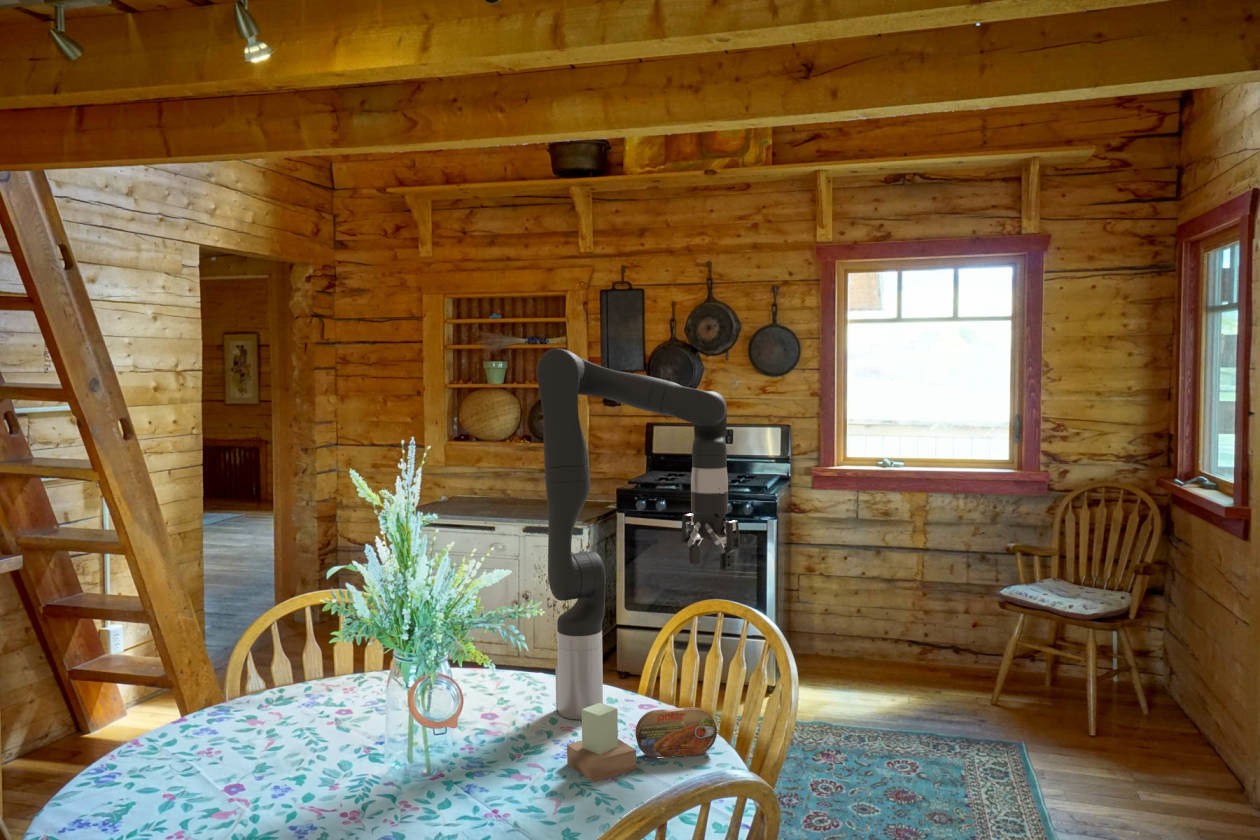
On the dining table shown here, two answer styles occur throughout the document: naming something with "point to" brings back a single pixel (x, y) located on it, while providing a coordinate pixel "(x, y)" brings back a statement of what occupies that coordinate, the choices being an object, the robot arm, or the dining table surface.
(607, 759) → the walnut base
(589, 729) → the sage block
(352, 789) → the dining table surface
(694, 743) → the tin
